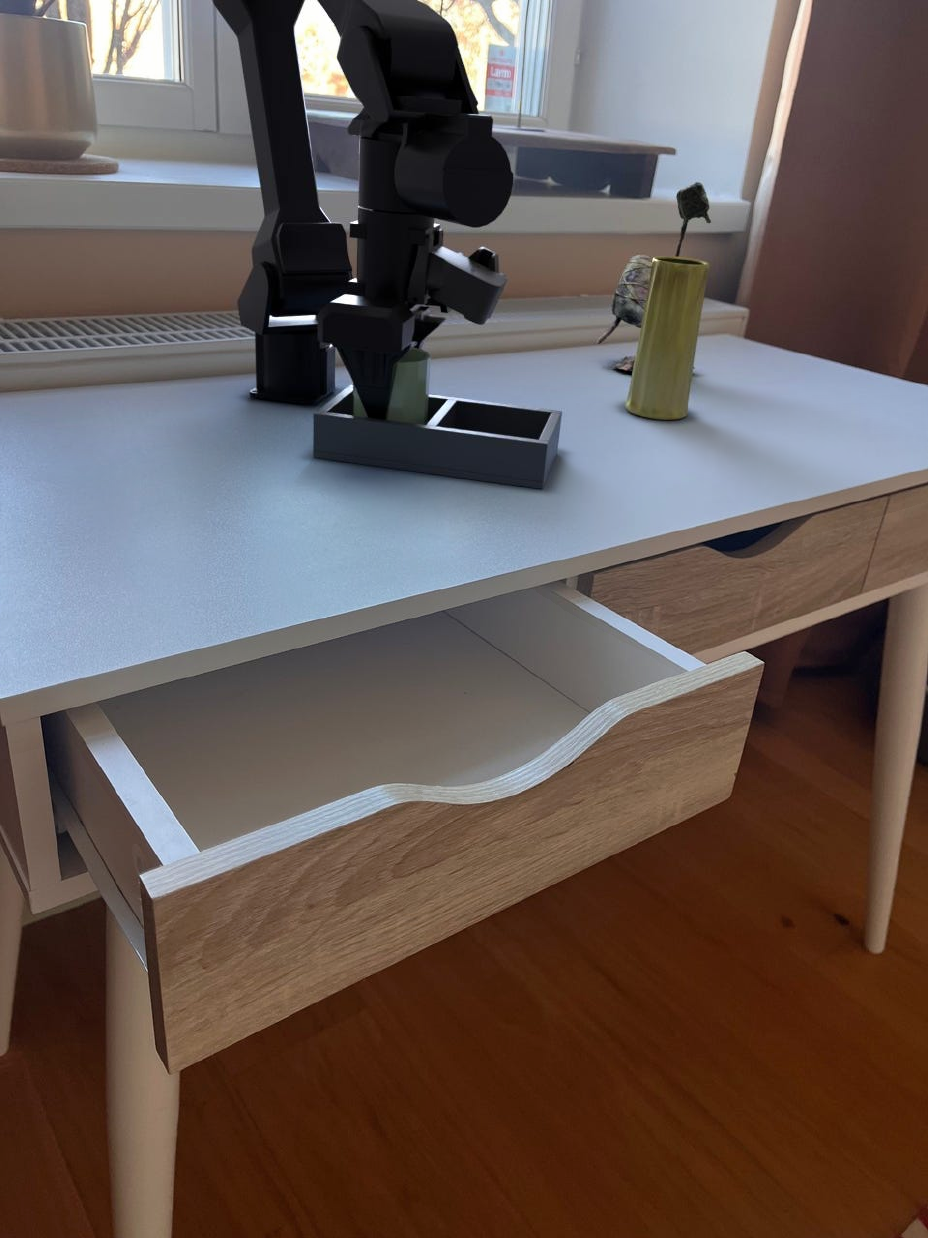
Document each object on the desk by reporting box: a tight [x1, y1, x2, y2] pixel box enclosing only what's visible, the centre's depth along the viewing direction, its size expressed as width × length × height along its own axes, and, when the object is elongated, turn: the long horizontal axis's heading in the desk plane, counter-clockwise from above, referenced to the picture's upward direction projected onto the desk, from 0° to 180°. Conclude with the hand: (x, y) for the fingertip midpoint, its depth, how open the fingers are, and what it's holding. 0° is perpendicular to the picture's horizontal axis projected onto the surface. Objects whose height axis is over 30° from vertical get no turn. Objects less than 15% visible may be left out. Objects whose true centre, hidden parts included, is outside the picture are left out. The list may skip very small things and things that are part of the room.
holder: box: [312, 384, 563, 490], centre depth 81 cm, size 10×18×4 cm, turn 78°
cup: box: [352, 348, 432, 425], centre depth 81 cm, size 6×6×7 cm
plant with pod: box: [596, 181, 712, 372], centre depth 110 cm, size 8×11×20 cm
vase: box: [624, 255, 710, 421], centre depth 96 cm, size 6×6×14 cm
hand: (388, 414), depth 81 cm, fingers closed on cup, 6 cm apart
